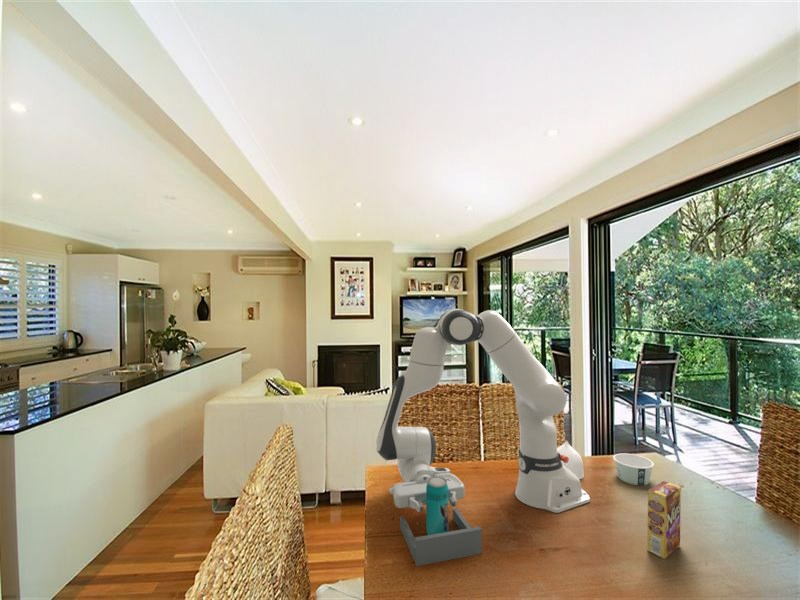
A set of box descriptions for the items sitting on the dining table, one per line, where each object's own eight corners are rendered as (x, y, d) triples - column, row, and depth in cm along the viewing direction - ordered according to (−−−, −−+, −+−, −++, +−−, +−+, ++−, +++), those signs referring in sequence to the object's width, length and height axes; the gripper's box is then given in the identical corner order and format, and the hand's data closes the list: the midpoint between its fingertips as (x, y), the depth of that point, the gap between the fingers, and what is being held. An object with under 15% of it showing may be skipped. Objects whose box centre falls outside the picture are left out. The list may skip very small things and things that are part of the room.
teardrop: (563, 482, 129) (563, 447, 129) (544, 468, 140) (543, 436, 140) (591, 478, 132) (590, 444, 132) (569, 465, 142) (569, 433, 142)
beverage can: (442, 547, 95) (442, 488, 95) (422, 540, 98) (422, 482, 98) (452, 535, 100) (451, 479, 100) (432, 529, 103) (432, 474, 103)
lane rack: (456, 518, 108) (456, 497, 108) (481, 553, 93) (481, 529, 93) (400, 527, 104) (399, 505, 104) (416, 566, 88) (416, 540, 88)
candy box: (666, 560, 90) (665, 496, 90) (646, 551, 93) (645, 489, 93) (682, 547, 94) (681, 486, 95) (662, 538, 98) (661, 479, 98)
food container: (607, 470, 138) (607, 452, 138) (643, 472, 136) (643, 454, 136) (622, 486, 126) (622, 466, 126) (661, 488, 124) (661, 468, 124)
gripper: (387, 475, 109) (399, 500, 96) (453, 467, 115) (473, 489, 101) (387, 497, 109) (399, 524, 96) (453, 488, 114) (473, 512, 101)
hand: (437, 506), depth 99 cm, fingers open, 8 cm apart
